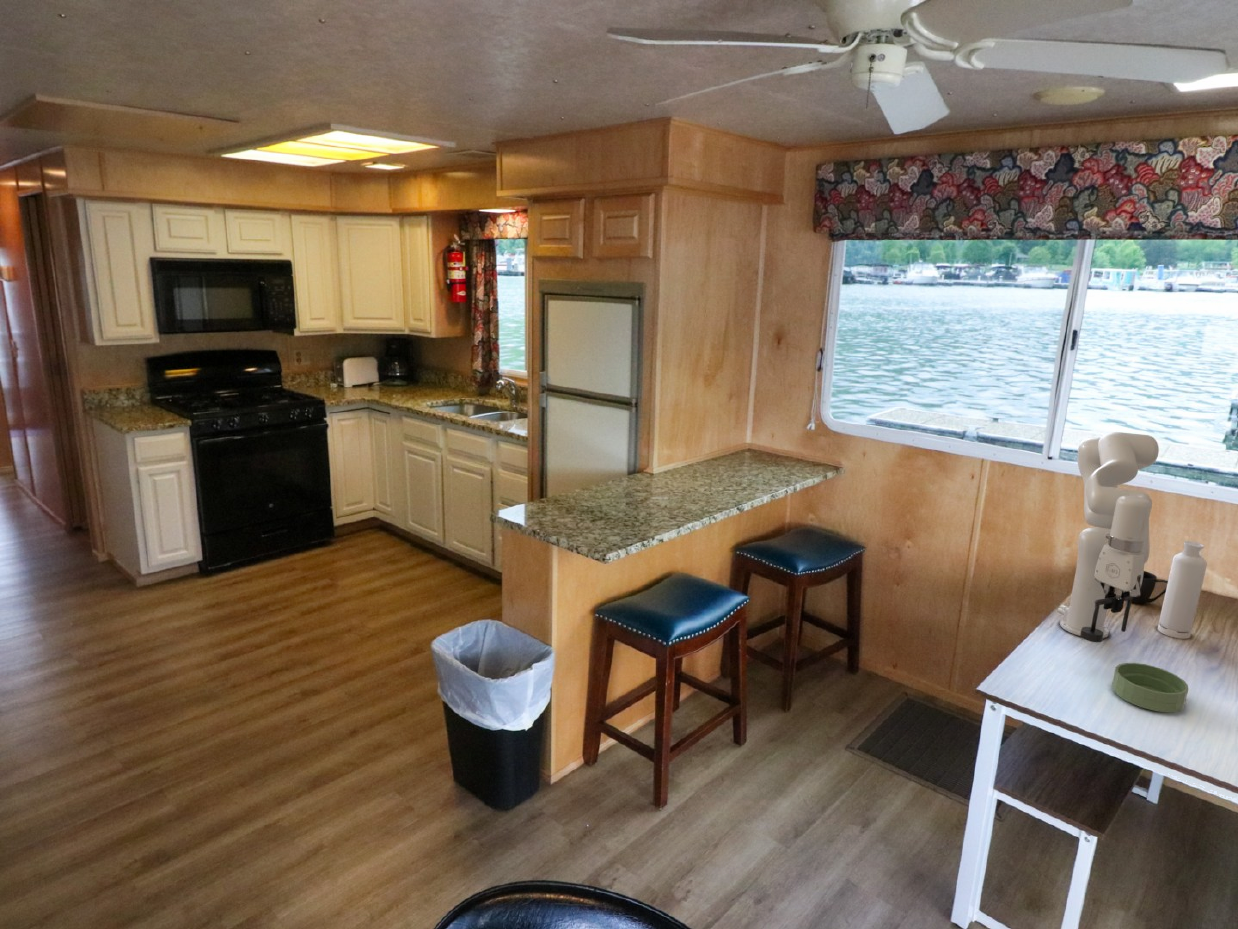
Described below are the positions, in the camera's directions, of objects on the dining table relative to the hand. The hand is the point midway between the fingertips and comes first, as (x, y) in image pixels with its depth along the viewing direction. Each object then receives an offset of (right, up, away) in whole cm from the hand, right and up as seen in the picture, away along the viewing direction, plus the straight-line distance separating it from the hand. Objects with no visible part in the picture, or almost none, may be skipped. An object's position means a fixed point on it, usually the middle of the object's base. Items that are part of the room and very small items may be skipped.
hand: (1112, 609), depth 205 cm
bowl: (+3, -20, -9) cm, 22 cm away
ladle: (-1, -7, +1) cm, 7 cm away
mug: (+41, -7, +49) cm, 64 cm away
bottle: (+36, -12, +28) cm, 47 cm away
